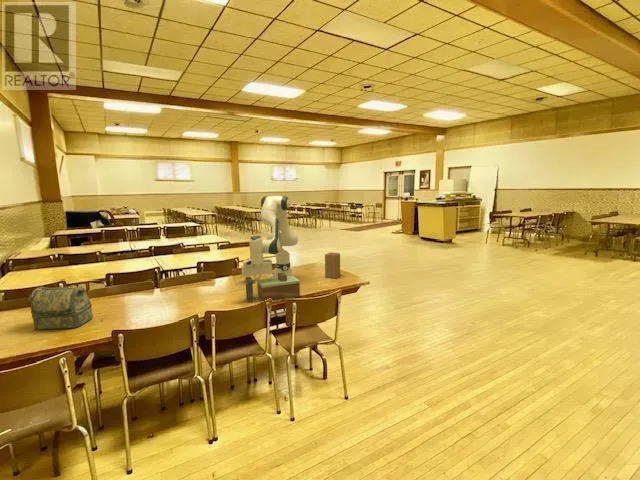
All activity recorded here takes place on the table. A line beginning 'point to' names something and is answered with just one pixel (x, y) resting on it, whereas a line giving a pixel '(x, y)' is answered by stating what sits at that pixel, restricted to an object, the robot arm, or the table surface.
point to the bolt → (244, 282)
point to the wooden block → (332, 265)
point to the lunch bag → (60, 307)
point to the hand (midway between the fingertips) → (257, 280)
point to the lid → (278, 280)
